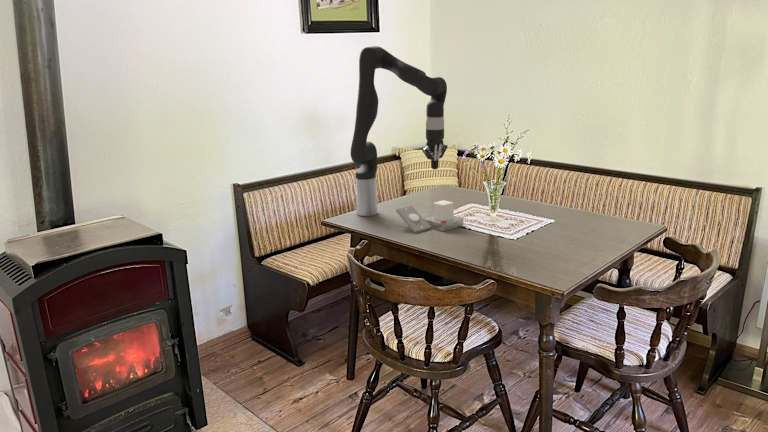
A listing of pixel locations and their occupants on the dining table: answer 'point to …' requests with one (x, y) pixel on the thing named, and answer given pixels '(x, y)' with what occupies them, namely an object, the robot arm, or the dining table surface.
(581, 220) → the dining table surface
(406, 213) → the light switch
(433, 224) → the socket
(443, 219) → the plug
